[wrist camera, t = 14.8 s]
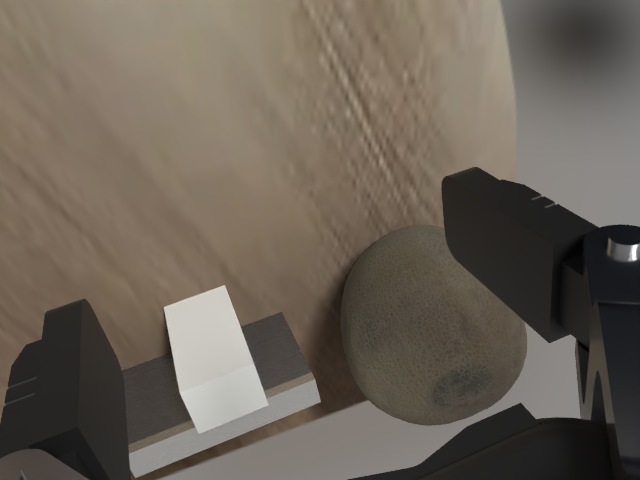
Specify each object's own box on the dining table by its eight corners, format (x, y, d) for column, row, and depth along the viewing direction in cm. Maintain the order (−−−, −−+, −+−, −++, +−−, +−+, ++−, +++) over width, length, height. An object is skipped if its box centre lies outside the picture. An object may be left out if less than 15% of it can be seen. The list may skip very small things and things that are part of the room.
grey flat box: (129, 393, 47) (135, 478, 39) (118, 372, 45) (122, 456, 38) (287, 333, 49) (320, 401, 42) (281, 312, 48) (315, 379, 41)
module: (180, 344, 46) (198, 434, 38) (163, 307, 44) (179, 393, 36) (238, 322, 47) (268, 405, 39) (224, 284, 45) (254, 363, 37)
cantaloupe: (300, 223, 45) (380, 334, 32) (456, 183, 48) (582, 268, 36) (319, 357, 52) (390, 489, 39) (454, 313, 55) (558, 422, 43)
